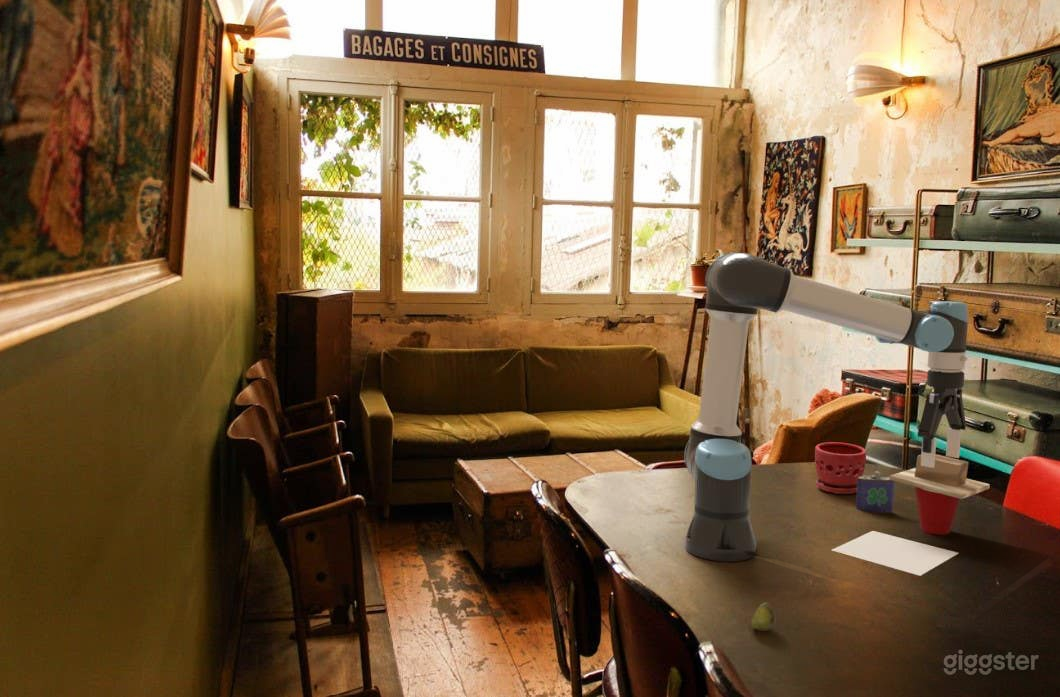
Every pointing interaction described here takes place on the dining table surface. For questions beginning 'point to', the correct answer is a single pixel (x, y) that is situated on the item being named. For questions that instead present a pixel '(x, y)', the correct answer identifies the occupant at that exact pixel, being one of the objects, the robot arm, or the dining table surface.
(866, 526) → the dining table surface
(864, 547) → the mat
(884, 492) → the flask
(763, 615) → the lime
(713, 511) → the robot arm
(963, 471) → the lid
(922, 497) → the plastic cup
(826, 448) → the plant pot
